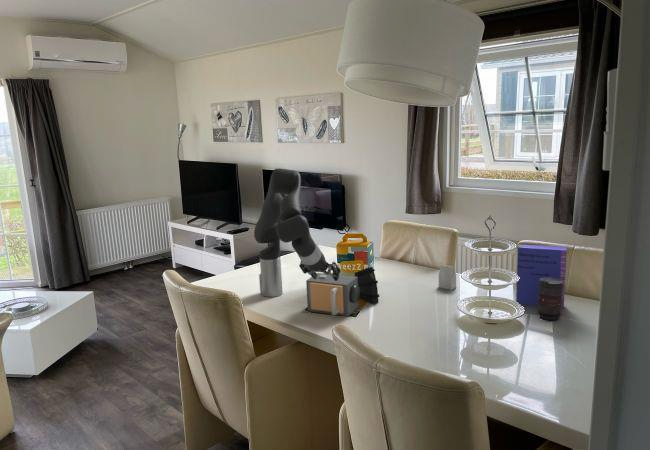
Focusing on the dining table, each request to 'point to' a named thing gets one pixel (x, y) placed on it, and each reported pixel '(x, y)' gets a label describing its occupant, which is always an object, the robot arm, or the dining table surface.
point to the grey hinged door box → (349, 291)
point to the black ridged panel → (367, 285)
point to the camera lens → (550, 299)
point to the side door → (326, 297)
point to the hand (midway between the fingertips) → (326, 277)
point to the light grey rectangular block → (447, 277)
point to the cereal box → (538, 271)
